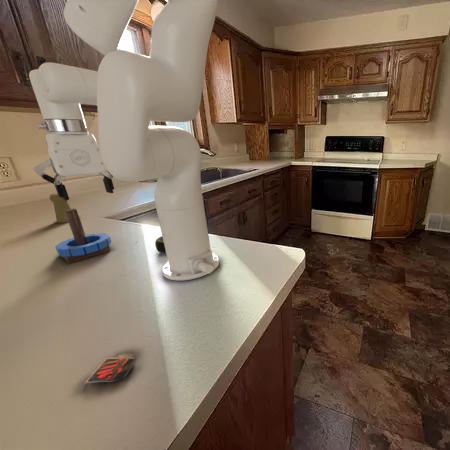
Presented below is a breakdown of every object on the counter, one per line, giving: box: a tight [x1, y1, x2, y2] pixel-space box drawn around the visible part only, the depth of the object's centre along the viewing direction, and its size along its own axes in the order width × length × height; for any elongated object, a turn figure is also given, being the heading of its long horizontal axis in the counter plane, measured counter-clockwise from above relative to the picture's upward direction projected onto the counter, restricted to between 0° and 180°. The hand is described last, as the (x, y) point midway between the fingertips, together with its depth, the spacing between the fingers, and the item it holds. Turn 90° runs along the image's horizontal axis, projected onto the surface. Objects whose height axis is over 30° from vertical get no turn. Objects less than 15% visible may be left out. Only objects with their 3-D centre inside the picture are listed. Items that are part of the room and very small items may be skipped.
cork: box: [49, 192, 73, 224], centre depth 96 cm, size 6×6×11 cm
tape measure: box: [154, 235, 166, 254], centre depth 68 cm, size 7×7×4 cm
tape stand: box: [61, 208, 111, 264], centre depth 66 cm, size 9×9×12 cm
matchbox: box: [83, 352, 136, 387], centre depth 33 cm, size 5×5×1 cm
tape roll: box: [55, 232, 112, 257], centre depth 68 cm, size 11×11×2 cm
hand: (89, 195), depth 66 cm, fingers open, 9 cm apart
